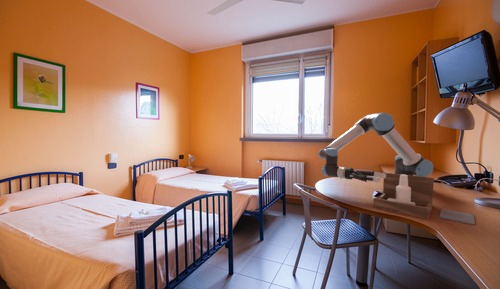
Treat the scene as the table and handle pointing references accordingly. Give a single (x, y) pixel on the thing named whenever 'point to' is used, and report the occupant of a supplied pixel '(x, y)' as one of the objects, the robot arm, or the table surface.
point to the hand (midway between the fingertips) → (383, 178)
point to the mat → (457, 216)
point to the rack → (419, 195)
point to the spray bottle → (403, 189)
